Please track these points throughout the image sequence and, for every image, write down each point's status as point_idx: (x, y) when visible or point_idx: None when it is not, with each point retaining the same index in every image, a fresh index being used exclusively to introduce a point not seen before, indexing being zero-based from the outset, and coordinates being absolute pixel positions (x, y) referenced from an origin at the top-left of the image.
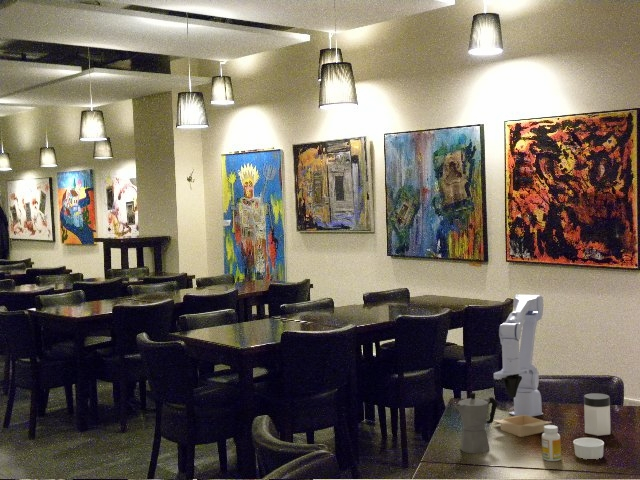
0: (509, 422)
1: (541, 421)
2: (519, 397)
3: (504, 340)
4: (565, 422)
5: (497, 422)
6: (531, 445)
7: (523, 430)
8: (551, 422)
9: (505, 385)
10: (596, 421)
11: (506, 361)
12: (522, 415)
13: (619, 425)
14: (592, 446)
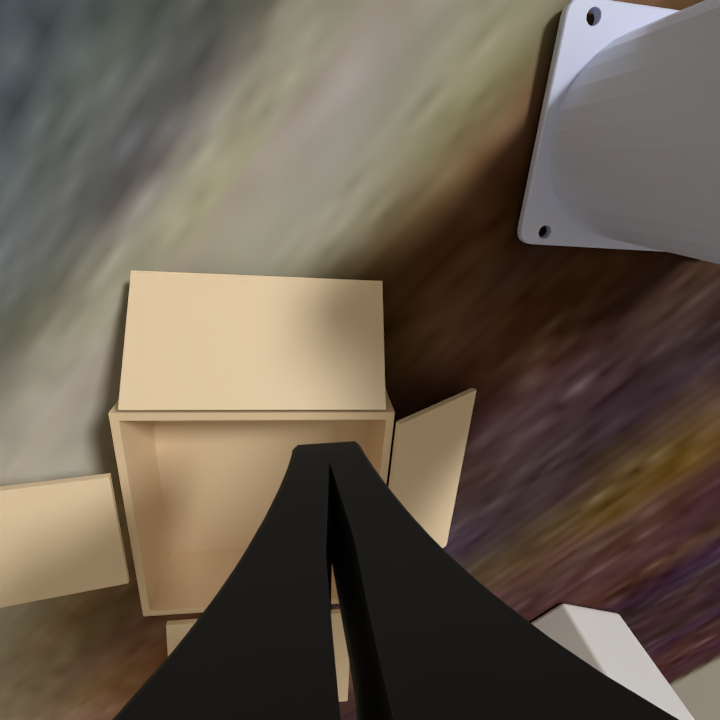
0: (102, 550)
1: (339, 622)
2: (687, 182)
3: None
4: (619, 468)
5: (131, 335)
6: (123, 669)
7: (183, 583)
8: (340, 698)
9: (216, 605)
10: None
11: None
12: (378, 416)
13: (717, 618)
14: None
